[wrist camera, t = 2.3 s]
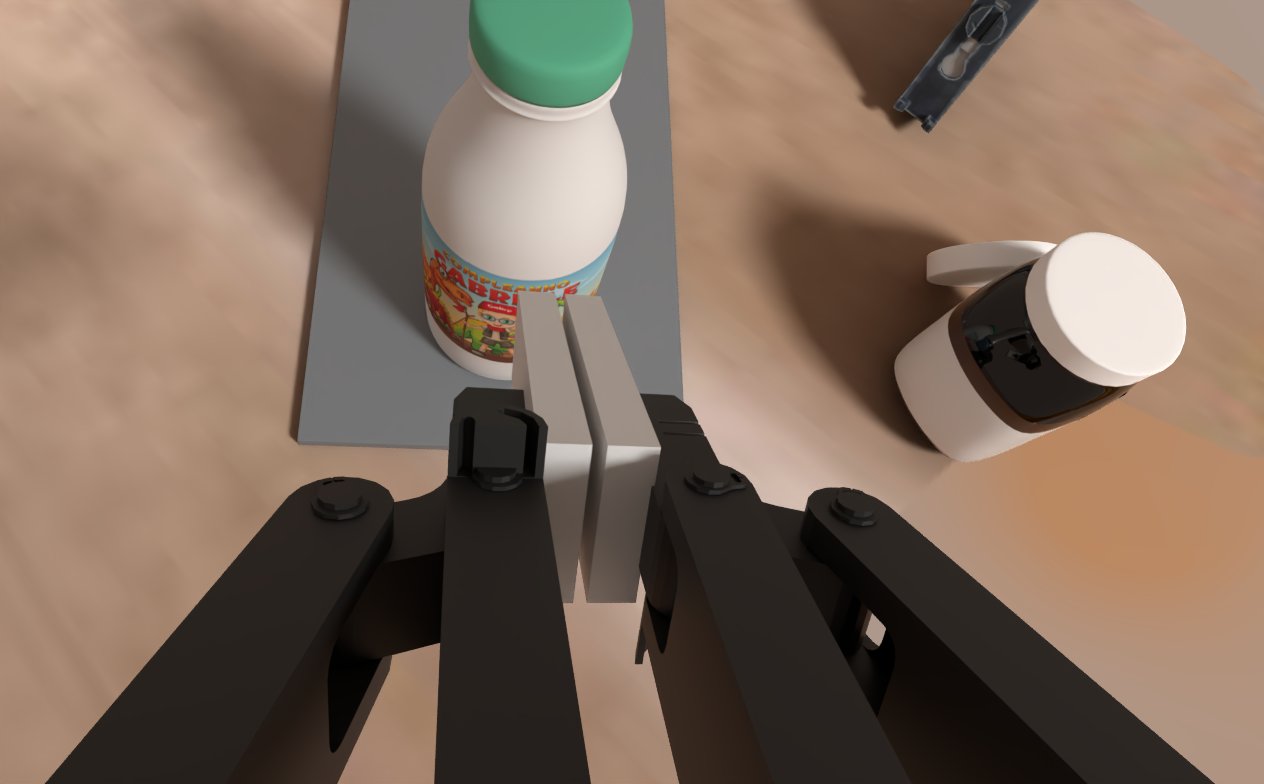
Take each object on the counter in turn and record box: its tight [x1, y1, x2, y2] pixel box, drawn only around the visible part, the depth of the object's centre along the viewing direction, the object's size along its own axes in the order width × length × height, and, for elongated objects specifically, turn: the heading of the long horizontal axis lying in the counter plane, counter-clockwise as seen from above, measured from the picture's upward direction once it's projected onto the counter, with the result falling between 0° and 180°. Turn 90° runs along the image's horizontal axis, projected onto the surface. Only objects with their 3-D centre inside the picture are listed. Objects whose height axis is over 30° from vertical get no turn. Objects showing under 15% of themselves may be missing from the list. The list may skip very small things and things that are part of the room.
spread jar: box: [894, 232, 1186, 462], centre depth 41 cm, size 12×11×12 cm
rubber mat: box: [297, 0, 683, 450], centre depth 45 cm, size 34×18×1 cm, turn 1°
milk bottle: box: [421, 0, 633, 380], centre depth 32 cm, size 8×8×20 cm
